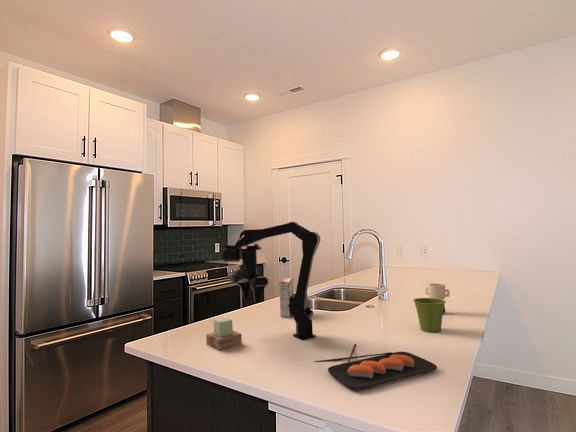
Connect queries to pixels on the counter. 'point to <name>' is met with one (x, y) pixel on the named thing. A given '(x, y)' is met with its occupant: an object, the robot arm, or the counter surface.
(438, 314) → the plant pot
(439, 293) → the character mug
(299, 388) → the counter surface
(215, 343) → the walnut block
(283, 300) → the candy bar box
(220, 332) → the green cube
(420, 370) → the sushi plate
